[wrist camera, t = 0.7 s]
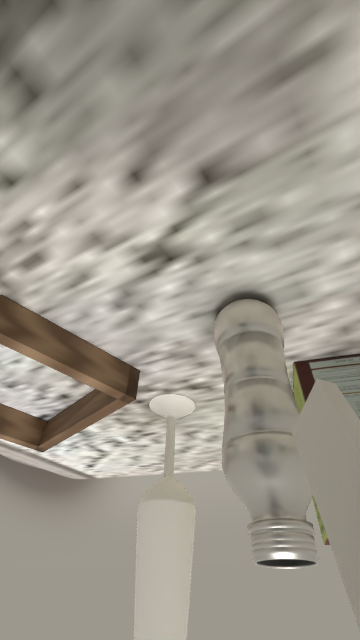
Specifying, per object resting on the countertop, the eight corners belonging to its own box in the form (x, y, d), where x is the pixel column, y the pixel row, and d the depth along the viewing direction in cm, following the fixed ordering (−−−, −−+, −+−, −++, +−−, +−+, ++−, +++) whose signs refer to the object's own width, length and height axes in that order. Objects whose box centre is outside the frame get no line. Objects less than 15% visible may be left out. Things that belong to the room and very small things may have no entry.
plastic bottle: (232, 343, 35) (259, 573, 21) (199, 307, 31) (205, 558, 17) (288, 321, 32) (362, 569, 18) (259, 278, 28) (326, 549, 14)
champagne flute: (156, 389, 42) (132, 648, 25) (202, 399, 43) (208, 650, 27) (143, 412, 46) (115, 644, 30) (185, 420, 48) (181, 646, 31)
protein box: (293, 421, 47) (323, 546, 36) (292, 361, 37) (334, 511, 26) (368, 414, 45) (423, 545, 34) (390, 348, 35) (480, 506, 24)
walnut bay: (-66, 384, 43) (-85, 410, 40) (1, 294, 31) (-19, 324, 28) (51, 427, 51) (42, 452, 48) (139, 370, 39) (135, 399, 36)
